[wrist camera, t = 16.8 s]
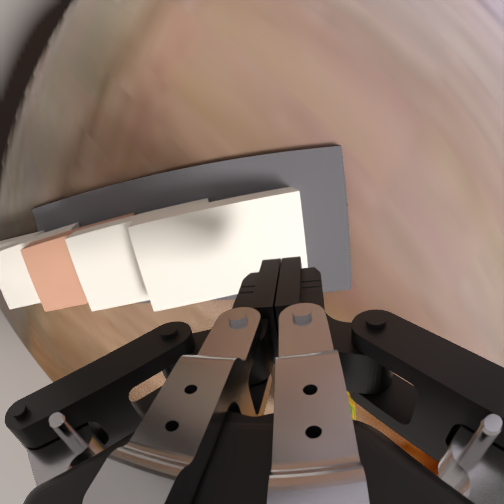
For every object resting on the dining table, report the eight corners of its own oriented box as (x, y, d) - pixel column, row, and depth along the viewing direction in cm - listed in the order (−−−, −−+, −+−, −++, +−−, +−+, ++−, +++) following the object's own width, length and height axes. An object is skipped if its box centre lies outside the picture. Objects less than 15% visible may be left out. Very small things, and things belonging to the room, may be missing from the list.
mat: (340, 145, 16) (341, 145, 16) (350, 286, 19) (351, 289, 19) (34, 208, 21) (31, 209, 20) (67, 301, 24) (64, 303, 24)
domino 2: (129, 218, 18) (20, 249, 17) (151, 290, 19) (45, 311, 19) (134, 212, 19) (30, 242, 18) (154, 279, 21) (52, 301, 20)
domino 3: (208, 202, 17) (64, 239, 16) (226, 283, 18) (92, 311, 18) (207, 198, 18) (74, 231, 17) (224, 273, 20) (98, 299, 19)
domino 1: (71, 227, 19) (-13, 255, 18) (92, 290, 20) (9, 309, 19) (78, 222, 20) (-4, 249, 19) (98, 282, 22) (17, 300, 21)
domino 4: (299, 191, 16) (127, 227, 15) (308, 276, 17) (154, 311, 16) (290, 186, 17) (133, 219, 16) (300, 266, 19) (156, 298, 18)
